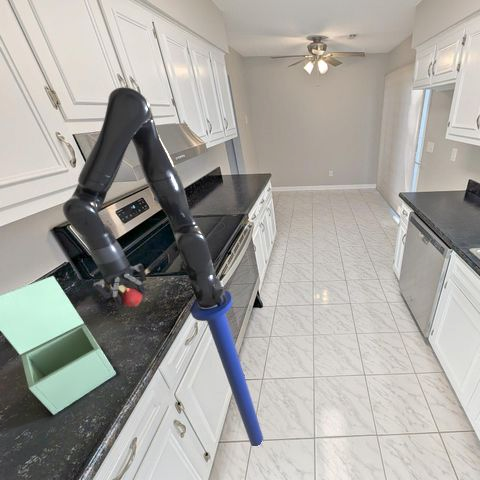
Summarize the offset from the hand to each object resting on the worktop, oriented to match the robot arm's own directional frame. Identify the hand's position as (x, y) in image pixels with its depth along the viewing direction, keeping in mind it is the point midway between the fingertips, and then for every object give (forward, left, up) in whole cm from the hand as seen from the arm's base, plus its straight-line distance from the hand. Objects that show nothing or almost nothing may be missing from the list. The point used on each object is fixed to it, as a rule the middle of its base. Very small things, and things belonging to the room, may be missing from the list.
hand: (132, 298), depth 87 cm
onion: (0, 0, -4) cm, 4 cm away
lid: (+15, +14, +8) cm, 22 cm away
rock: (+19, -20, -12) cm, 30 cm away
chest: (+8, +20, -12) cm, 25 cm away
